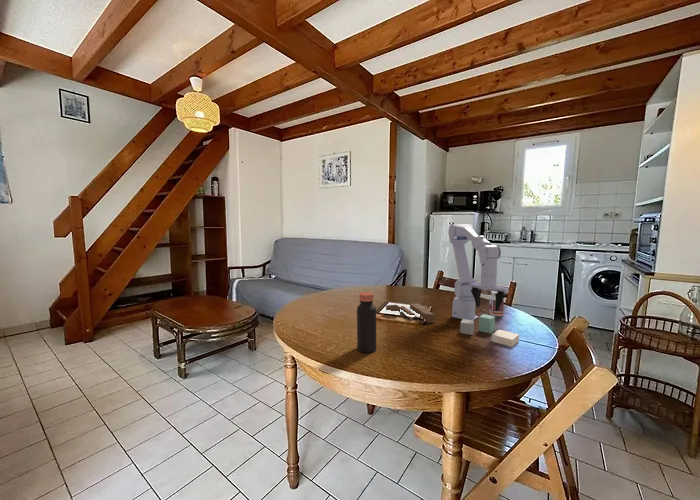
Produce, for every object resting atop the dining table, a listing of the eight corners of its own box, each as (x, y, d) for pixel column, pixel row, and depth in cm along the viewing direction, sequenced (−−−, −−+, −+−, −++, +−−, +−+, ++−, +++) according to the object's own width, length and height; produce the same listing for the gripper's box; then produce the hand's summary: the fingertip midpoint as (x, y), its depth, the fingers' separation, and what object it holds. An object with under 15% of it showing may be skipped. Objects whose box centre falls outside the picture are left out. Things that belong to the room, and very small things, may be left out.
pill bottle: (506, 315, 139) (506, 292, 138) (498, 317, 136) (499, 294, 134) (493, 311, 144) (494, 289, 143) (486, 314, 141) (486, 291, 140)
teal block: (478, 330, 120) (479, 316, 119) (483, 328, 123) (483, 314, 122) (490, 333, 117) (490, 319, 116) (494, 330, 120) (495, 316, 119)
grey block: (460, 333, 118) (460, 322, 117) (462, 329, 122) (462, 319, 121) (472, 335, 115) (472, 324, 115) (473, 331, 119) (474, 320, 119)
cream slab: (491, 342, 109) (492, 334, 109) (498, 336, 114) (499, 329, 114) (512, 347, 104) (512, 339, 104) (518, 342, 109) (519, 334, 109)
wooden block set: (417, 300, 147) (435, 311, 129) (417, 311, 147) (435, 324, 130) (385, 302, 143) (399, 314, 126) (385, 314, 144) (398, 327, 126)
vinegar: (370, 355, 99) (370, 297, 97) (353, 350, 103) (353, 294, 101) (379, 347, 105) (379, 292, 103) (363, 343, 108) (362, 290, 106)
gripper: (466, 274, 120) (465, 306, 121) (504, 278, 109) (503, 314, 111) (473, 271, 125) (473, 303, 126) (511, 276, 114) (509, 310, 116)
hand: (487, 308), depth 119 cm, fingers open, 7 cm apart
